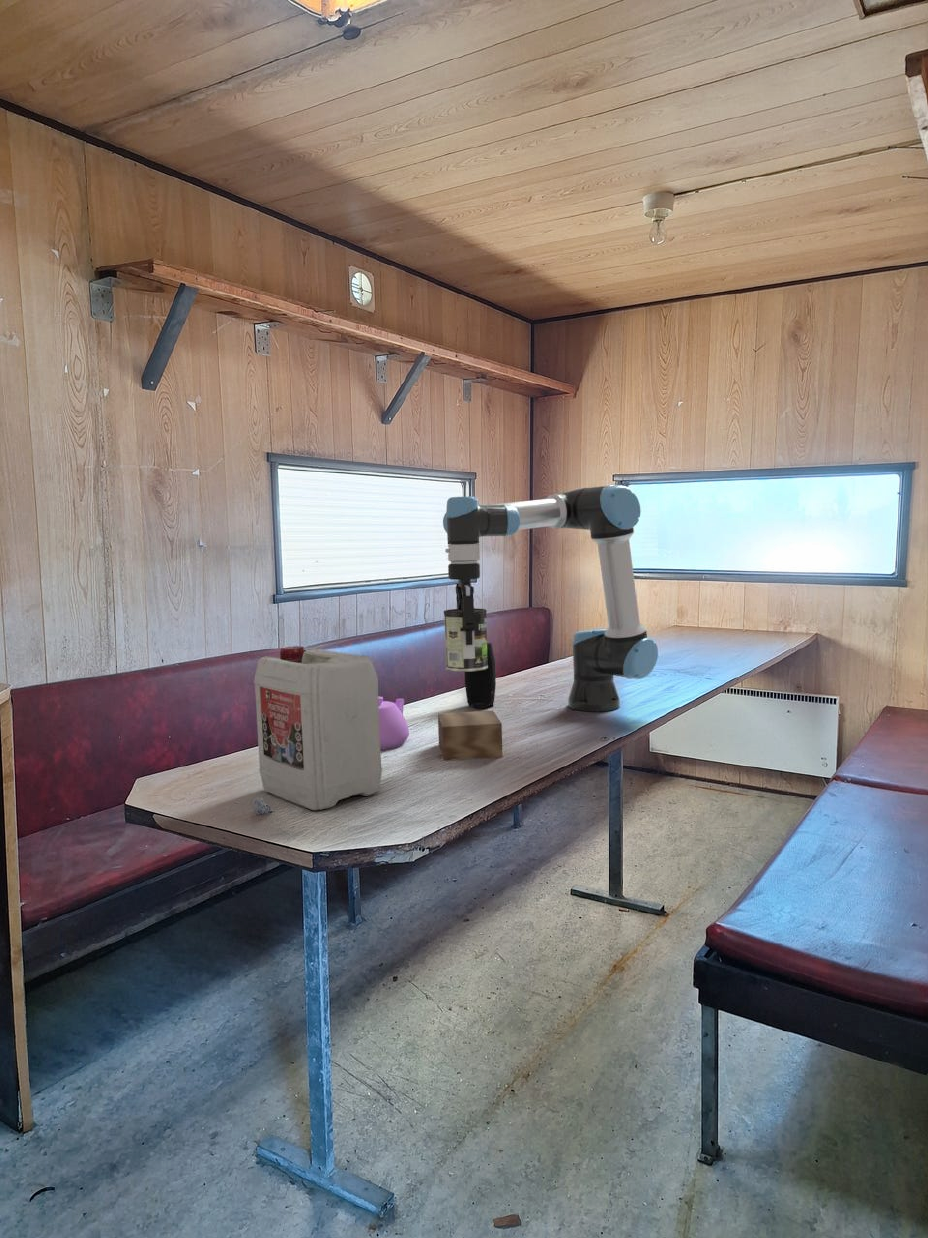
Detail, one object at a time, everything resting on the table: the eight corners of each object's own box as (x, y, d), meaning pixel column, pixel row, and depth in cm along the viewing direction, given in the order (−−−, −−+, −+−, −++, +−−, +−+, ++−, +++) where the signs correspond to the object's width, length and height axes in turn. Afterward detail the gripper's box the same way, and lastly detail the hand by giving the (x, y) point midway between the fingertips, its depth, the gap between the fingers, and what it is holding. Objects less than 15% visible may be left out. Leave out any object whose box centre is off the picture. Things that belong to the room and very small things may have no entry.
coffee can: (491, 664, 197) (489, 607, 196) (484, 672, 187) (482, 612, 186) (450, 664, 199) (448, 608, 198) (441, 672, 189) (439, 612, 188)
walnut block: (493, 741, 203) (493, 710, 202) (502, 756, 189) (501, 723, 189) (438, 744, 202) (437, 713, 201) (443, 760, 188) (442, 726, 187)
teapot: (377, 758, 192) (375, 708, 191) (327, 750, 200) (324, 703, 198) (427, 736, 211) (426, 691, 209) (380, 730, 219) (378, 687, 217)
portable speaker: (501, 706, 243) (499, 642, 240) (474, 711, 238) (472, 645, 236) (486, 701, 250) (484, 639, 248) (460, 705, 245) (458, 642, 243)
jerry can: (252, 791, 169) (243, 651, 166) (325, 771, 182) (319, 640, 179) (316, 818, 152) (308, 662, 149) (392, 793, 165) (387, 649, 162)
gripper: (444, 561, 201) (446, 649, 204) (452, 564, 179) (455, 663, 181) (473, 560, 202) (476, 647, 205) (485, 563, 180) (488, 661, 182)
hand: (466, 655), depth 193 cm, fingers closed on coffee can, 10 cm apart
